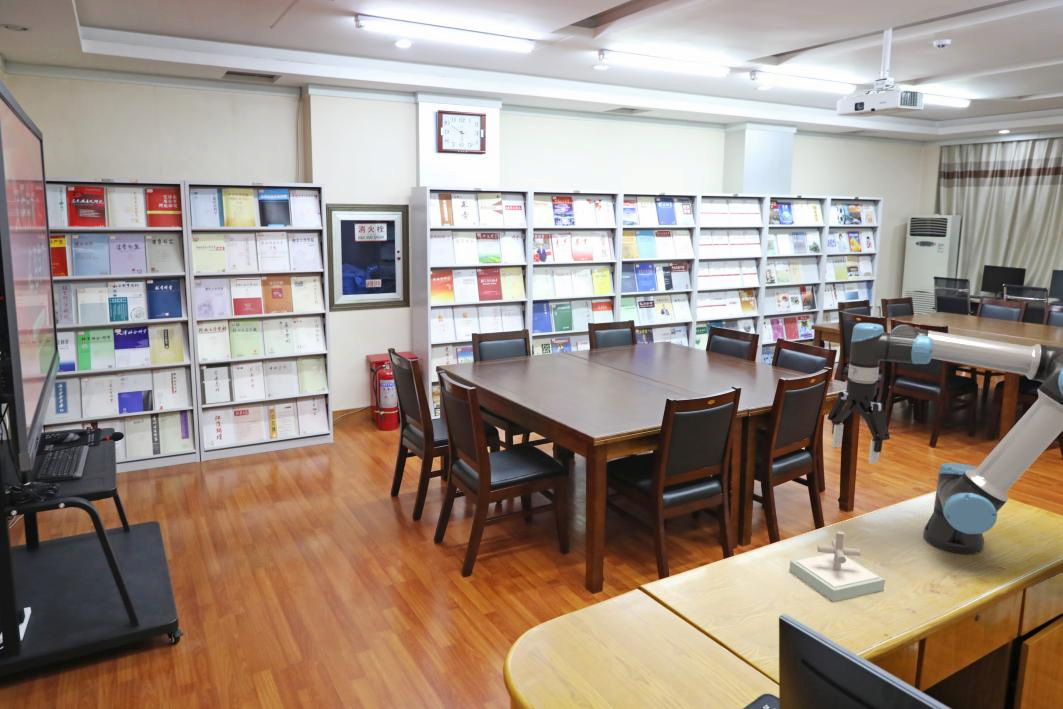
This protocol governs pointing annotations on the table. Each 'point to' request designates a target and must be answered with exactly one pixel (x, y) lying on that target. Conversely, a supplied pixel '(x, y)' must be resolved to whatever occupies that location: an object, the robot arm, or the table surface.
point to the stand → (836, 577)
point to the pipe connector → (838, 550)
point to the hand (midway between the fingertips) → (854, 454)
